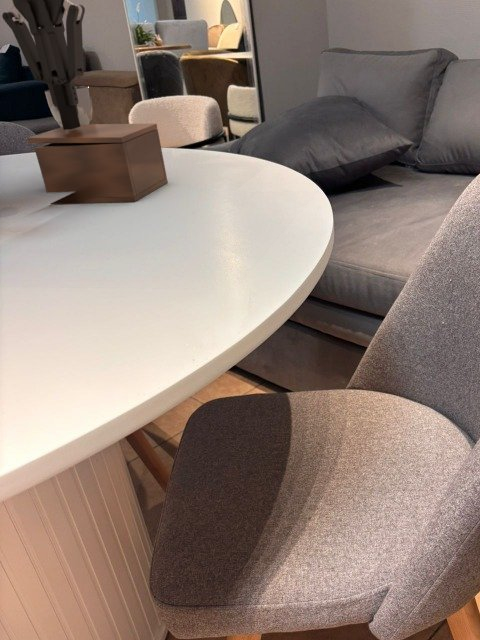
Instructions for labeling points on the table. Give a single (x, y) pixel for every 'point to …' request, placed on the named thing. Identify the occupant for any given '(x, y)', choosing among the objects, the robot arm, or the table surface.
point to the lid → (94, 133)
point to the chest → (103, 169)
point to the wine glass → (82, 108)
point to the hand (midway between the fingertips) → (72, 128)
